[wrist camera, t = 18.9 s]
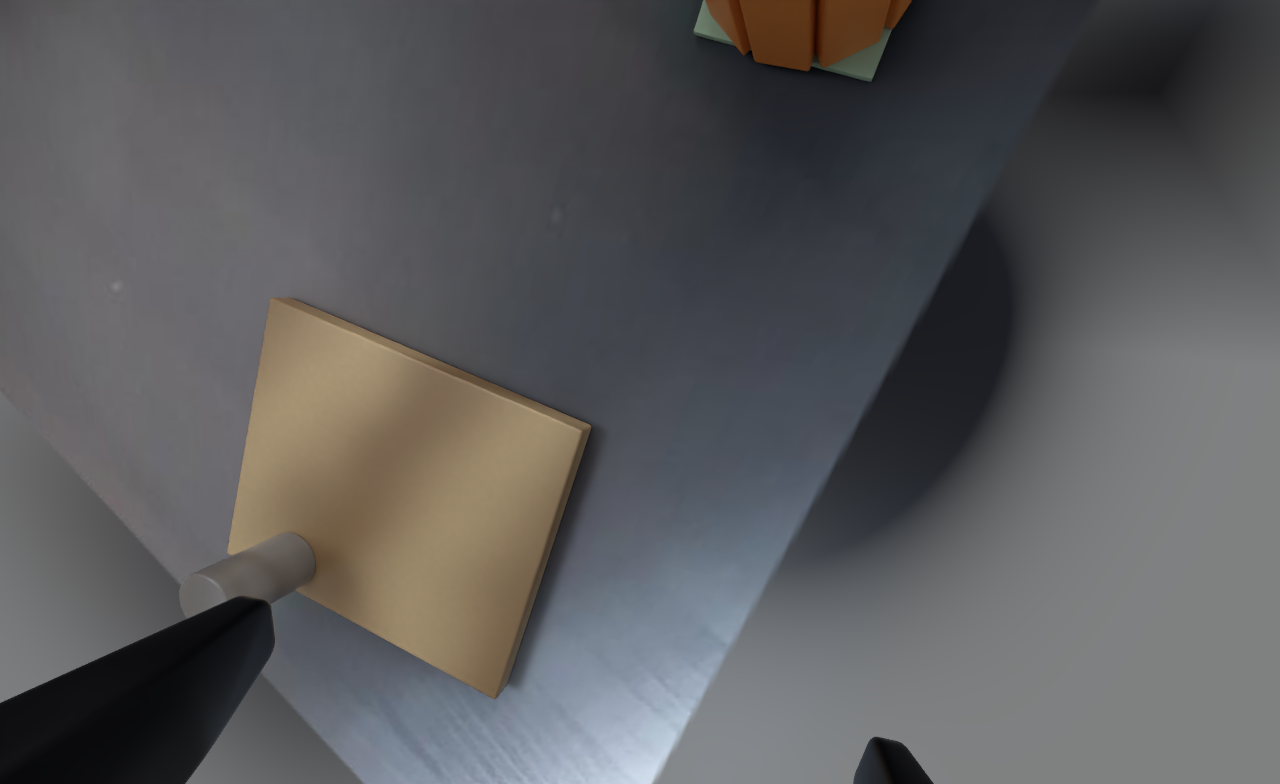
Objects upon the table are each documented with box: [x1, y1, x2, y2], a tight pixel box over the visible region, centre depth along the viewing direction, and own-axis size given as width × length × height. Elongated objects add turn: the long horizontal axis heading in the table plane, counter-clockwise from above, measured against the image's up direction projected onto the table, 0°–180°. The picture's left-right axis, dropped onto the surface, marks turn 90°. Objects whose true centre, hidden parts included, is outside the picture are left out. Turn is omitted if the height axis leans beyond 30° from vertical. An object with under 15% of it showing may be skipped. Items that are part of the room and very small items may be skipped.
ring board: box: [179, 298, 591, 699], centre depth 22 cm, size 14×12×5 cm
